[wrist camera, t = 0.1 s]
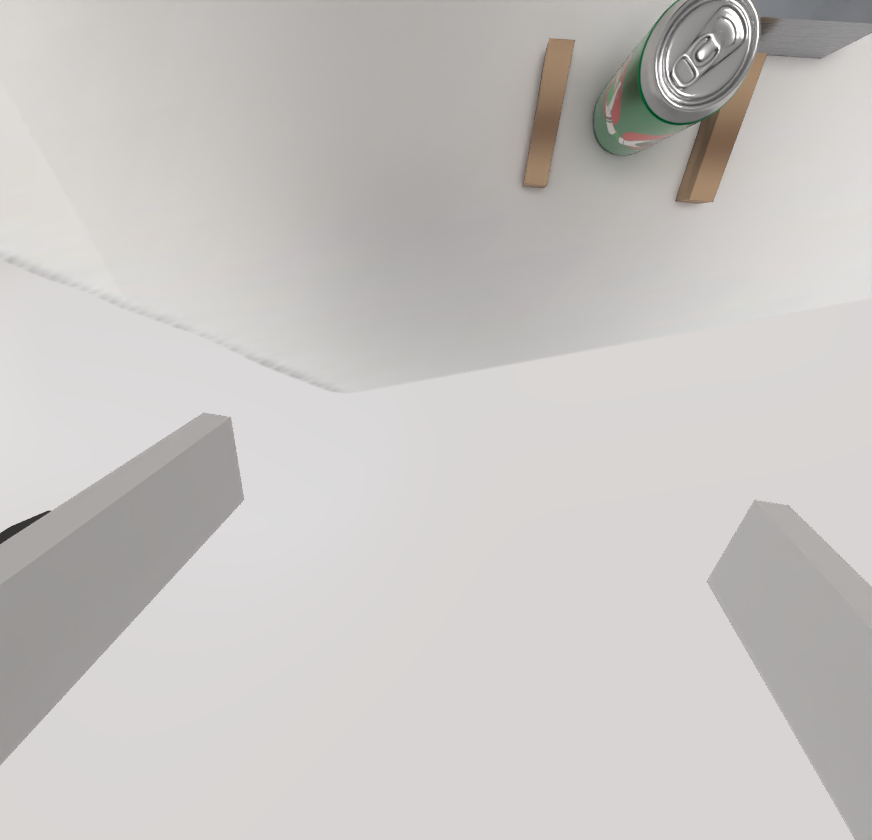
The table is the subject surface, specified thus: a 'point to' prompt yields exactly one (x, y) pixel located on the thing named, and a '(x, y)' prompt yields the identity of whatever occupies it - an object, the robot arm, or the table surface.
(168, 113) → the table surface
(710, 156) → the channel
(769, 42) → the v block
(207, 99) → the table surface
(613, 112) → the soda can
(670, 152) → the table surface
